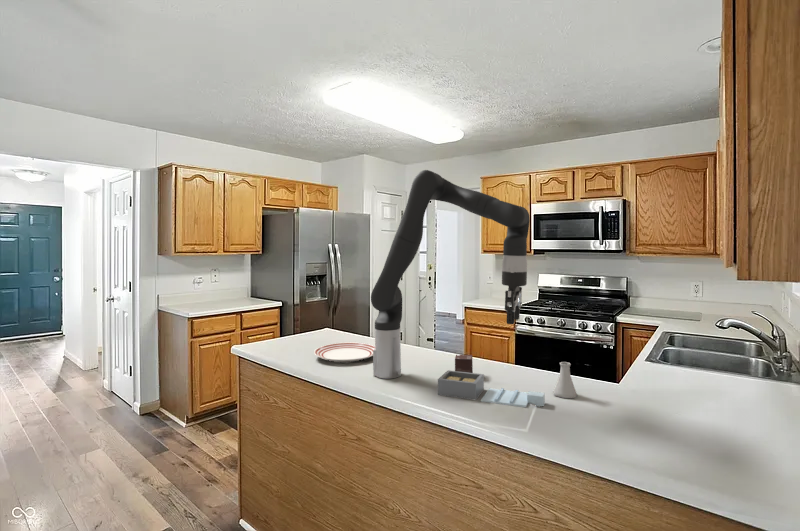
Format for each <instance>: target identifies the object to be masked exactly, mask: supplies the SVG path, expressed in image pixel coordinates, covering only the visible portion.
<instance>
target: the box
mask: <svg viewBox="0 0 800 531" xmlns="http://www.w3.org/2000/svg"><path fill="white" fill-rule="evenodd" d="M473 369H474V368H473V354H455V357H454V371H459V372H468V373H474V372H473Z"/></svg>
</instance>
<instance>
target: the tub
mask: <svg viewBox="0 0 800 531" xmlns="http://www.w3.org/2000/svg"><path fill="white" fill-rule="evenodd" d="M449 376H453V377H461V381H458V380H450V379H447V378H448V377H449ZM484 376H485V374H484V373H475V372H473V373H468V372H459V371H455V370H450V369H449V370H446V371H445V372H444V373H443V374H442V375H441V376H440V377H439V378H437V395H438V396H443V397H444V396H445V397H450V398H459V399H467V400H474V401H477V399H478V398H479V397H480V395H481V394H482V393H483V391H484V390H485V389H484V388H485V387H484V386H485V382H484V381H485V378H484ZM464 378H470V379H476V380H475V381H474V382H466V381H462V380H463V379H464Z"/></svg>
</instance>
